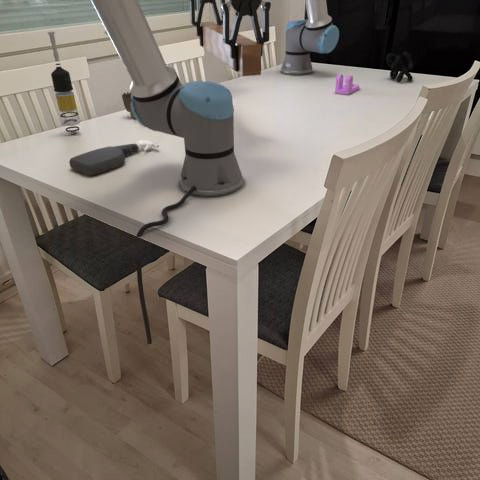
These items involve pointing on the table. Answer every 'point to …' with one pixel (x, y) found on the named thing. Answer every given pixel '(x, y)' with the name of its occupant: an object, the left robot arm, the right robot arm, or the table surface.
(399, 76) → the squiggle
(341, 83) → the bracket
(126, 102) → the cup
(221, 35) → the bar
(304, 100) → the table surface
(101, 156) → the spray bottle
